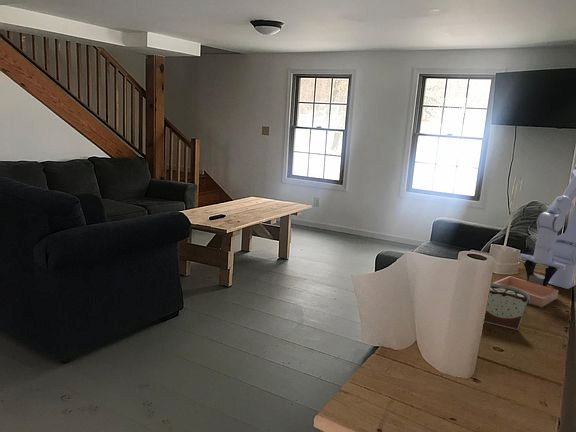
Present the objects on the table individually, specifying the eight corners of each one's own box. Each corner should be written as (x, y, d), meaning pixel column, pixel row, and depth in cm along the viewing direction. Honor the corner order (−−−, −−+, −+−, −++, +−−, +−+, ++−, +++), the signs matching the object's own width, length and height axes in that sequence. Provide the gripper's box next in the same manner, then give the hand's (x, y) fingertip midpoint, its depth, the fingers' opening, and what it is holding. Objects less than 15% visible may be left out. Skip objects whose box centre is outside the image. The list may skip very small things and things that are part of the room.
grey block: (531, 285, 168) (534, 273, 167) (545, 289, 165) (547, 277, 164) (527, 287, 165) (529, 275, 164) (540, 291, 162) (543, 279, 161)
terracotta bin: (508, 283, 168) (509, 276, 167) (556, 298, 157) (558, 290, 156) (491, 291, 158) (492, 282, 158) (541, 307, 147) (543, 298, 147)
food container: (523, 323, 133) (530, 290, 131) (524, 331, 128) (531, 296, 126) (477, 312, 138) (483, 280, 136) (475, 319, 133) (482, 286, 131)
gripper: (518, 243, 164) (511, 280, 167) (563, 254, 154) (555, 293, 157) (526, 240, 169) (519, 276, 172) (570, 251, 159) (562, 289, 162)
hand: (536, 284), depth 165 cm, fingers closed on grey block, 4 cm apart
